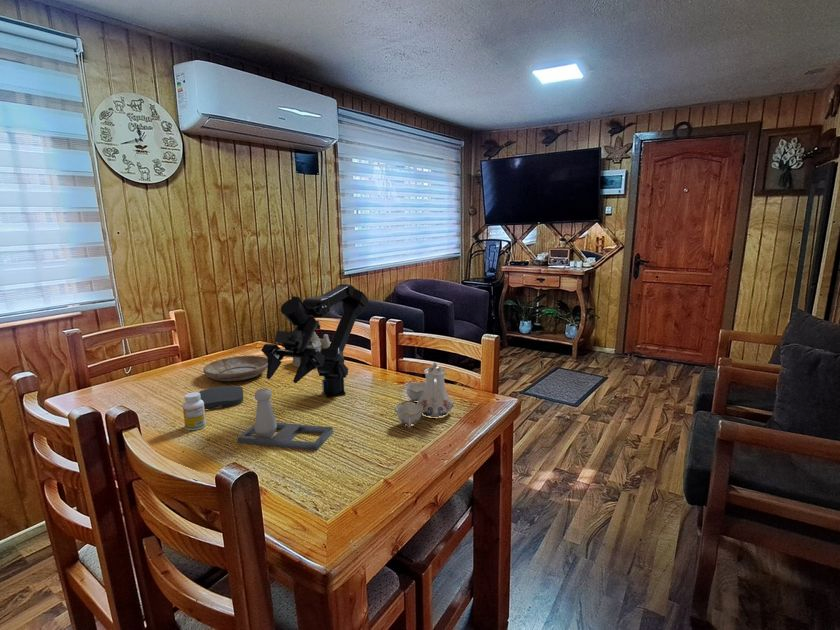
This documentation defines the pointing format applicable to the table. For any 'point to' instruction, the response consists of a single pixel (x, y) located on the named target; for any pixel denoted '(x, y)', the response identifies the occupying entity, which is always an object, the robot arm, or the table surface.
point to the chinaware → (425, 398)
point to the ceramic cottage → (314, 346)
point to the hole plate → (288, 436)
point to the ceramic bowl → (236, 368)
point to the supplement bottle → (194, 411)
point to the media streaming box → (222, 397)
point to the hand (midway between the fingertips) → (280, 380)
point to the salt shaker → (264, 414)
